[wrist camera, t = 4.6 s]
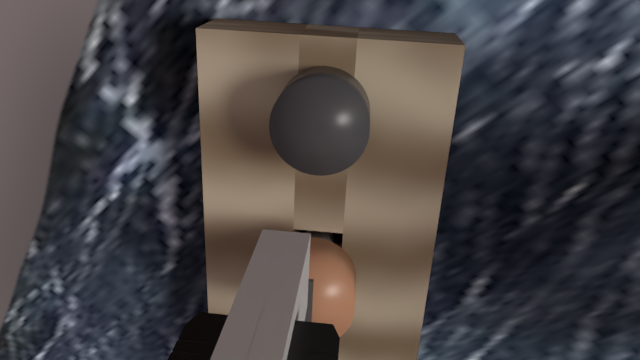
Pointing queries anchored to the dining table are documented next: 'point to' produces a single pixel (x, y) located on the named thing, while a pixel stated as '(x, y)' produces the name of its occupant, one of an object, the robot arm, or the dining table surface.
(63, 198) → the dining table surface
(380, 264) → the mount
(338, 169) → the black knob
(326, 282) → the orange knob middle
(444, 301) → the dining table surface
